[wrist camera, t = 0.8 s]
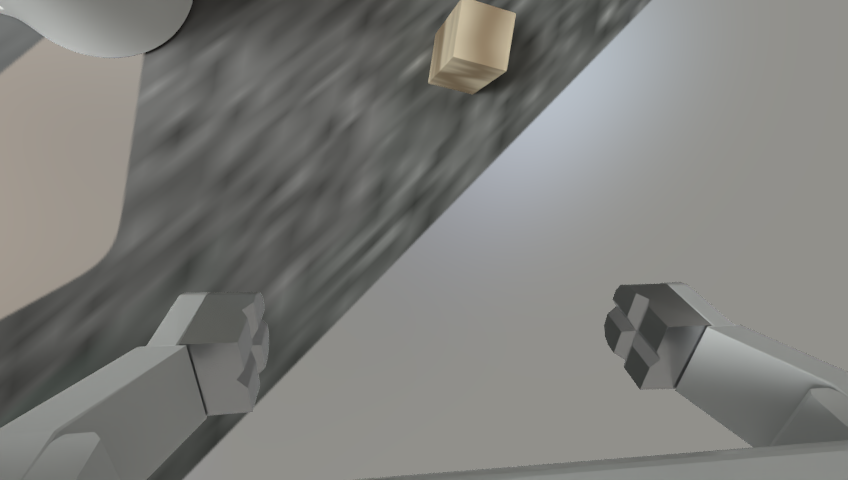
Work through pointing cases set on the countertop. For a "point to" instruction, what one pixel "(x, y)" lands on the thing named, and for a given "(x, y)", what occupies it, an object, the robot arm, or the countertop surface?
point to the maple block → (472, 46)
